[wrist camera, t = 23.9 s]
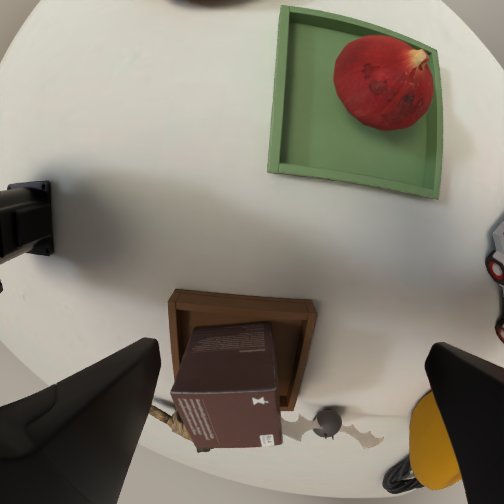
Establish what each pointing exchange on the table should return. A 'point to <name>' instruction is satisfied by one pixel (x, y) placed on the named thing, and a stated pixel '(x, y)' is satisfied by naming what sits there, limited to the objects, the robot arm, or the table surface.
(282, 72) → the produce tray
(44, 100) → the table surface
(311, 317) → the walnut tray
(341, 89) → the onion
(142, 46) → the table surface
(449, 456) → the apple
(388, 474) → the cable
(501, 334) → the toy fire truck
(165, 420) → the cat figurine
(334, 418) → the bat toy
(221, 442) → the box
